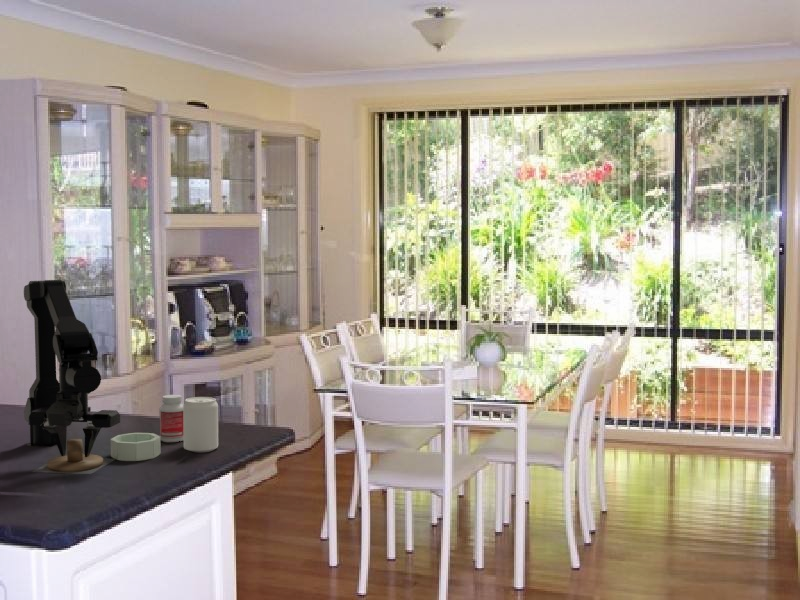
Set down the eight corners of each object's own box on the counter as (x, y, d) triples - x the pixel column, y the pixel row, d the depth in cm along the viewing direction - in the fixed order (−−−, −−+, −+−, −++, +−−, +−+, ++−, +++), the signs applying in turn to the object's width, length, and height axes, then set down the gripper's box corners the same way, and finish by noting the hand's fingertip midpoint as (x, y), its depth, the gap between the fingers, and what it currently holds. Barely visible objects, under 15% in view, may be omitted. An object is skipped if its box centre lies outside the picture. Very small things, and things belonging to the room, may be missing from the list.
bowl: (105, 462, 210) (104, 442, 210) (123, 451, 220) (123, 432, 220) (148, 464, 209) (148, 443, 208) (165, 453, 219) (165, 433, 218)
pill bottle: (189, 441, 231) (188, 396, 230) (164, 444, 228) (164, 399, 227) (180, 436, 236) (179, 392, 235) (156, 439, 233) (155, 395, 232)
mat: (32, 474, 199) (32, 471, 199) (61, 459, 212) (61, 456, 212) (90, 476, 198) (90, 474, 198) (116, 461, 211) (116, 458, 211)
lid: (36, 470, 200) (36, 445, 200) (62, 457, 212) (62, 433, 211) (88, 473, 199) (88, 447, 198) (111, 459, 210) (111, 435, 210)
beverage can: (188, 454, 217) (188, 403, 216) (179, 447, 225) (179, 398, 224) (222, 451, 221) (222, 401, 220) (212, 444, 228) (212, 395, 227)
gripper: (13, 391, 197) (15, 464, 198) (98, 394, 195) (99, 467, 196) (40, 382, 208) (41, 451, 209) (120, 384, 206) (121, 454, 207)
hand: (75, 456), depth 205 cm, fingers open, 5 cm apart
